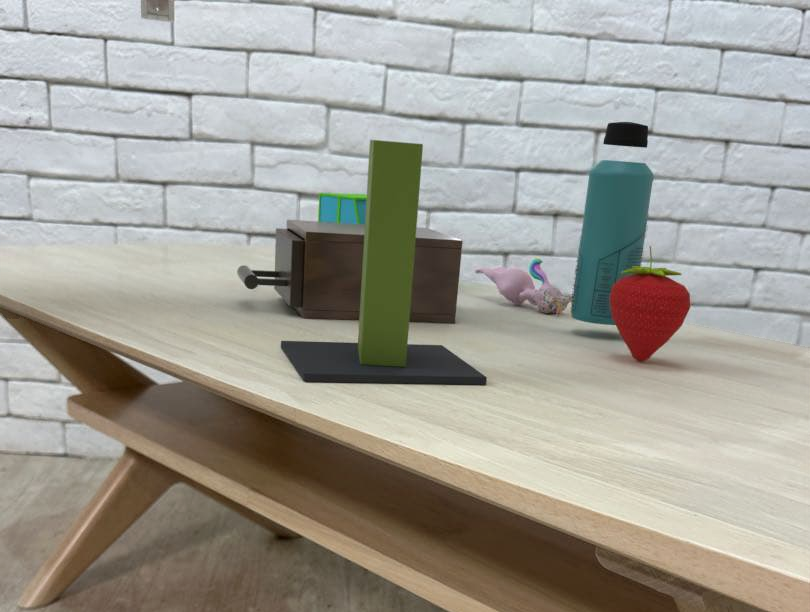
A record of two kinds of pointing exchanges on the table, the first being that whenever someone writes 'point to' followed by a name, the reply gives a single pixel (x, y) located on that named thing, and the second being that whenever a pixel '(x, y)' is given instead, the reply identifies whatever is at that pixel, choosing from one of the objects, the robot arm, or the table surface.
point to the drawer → (281, 269)
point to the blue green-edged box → (342, 208)
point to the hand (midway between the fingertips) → (157, 20)
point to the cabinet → (342, 272)
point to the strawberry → (648, 308)
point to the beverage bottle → (611, 225)
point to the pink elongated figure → (527, 287)
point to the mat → (345, 366)
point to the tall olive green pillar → (389, 252)
